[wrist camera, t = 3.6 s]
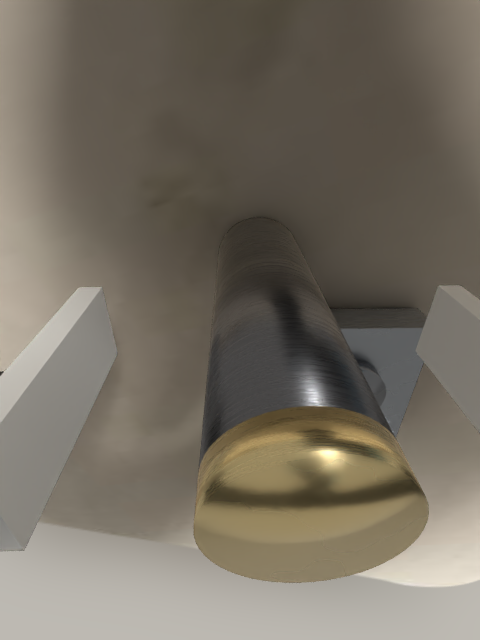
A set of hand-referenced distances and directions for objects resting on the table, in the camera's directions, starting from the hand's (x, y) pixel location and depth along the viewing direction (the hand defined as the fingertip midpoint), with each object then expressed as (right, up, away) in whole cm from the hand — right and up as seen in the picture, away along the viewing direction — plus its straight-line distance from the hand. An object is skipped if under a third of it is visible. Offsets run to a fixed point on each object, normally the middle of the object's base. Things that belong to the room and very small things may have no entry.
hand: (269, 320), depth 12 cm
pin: (0, +3, +5) cm, 6 cm away
